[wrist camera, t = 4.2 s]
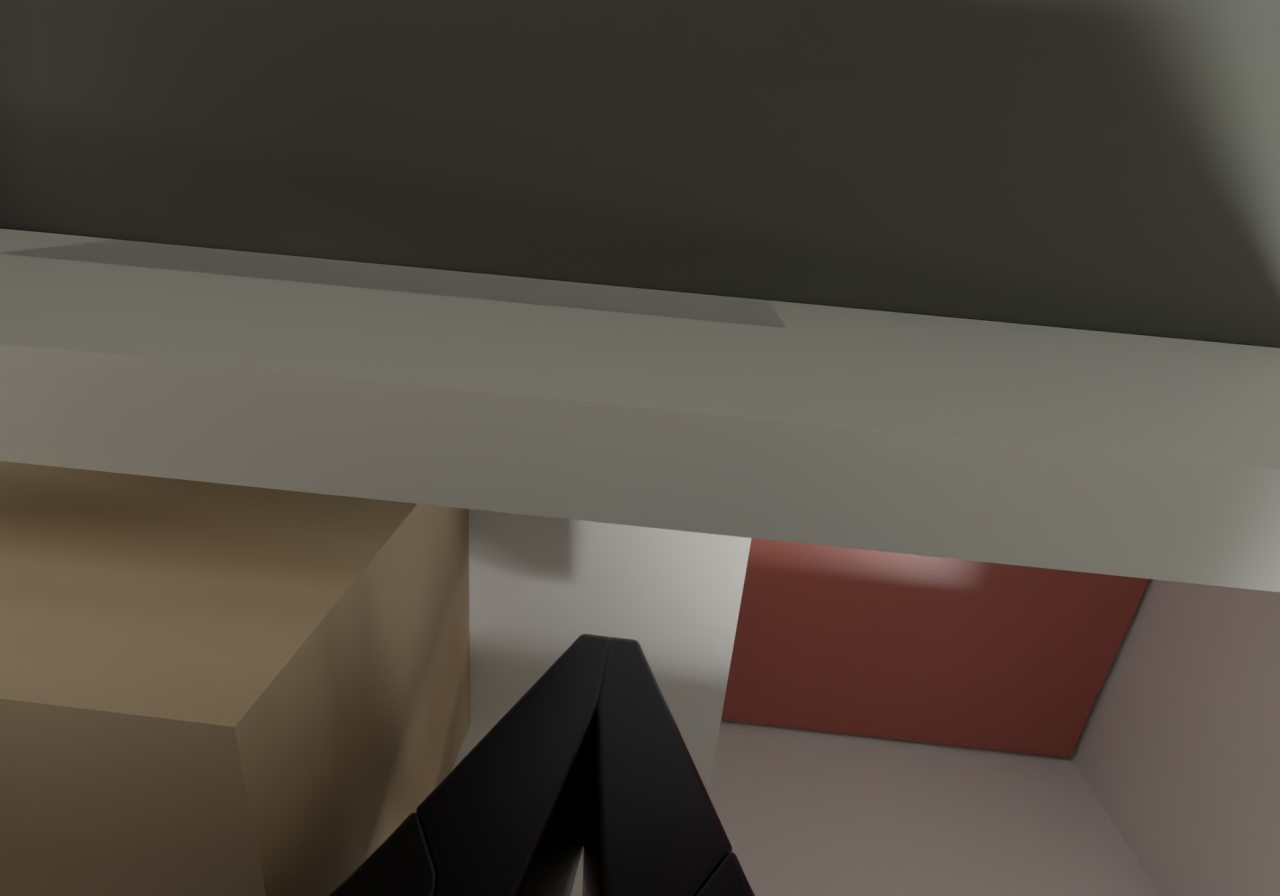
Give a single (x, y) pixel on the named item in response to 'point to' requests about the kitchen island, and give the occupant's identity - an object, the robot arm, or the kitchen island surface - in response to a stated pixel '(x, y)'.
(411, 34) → the kitchen island surface
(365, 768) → the maple block
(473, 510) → the trap channel
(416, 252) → the kitchen island surface
